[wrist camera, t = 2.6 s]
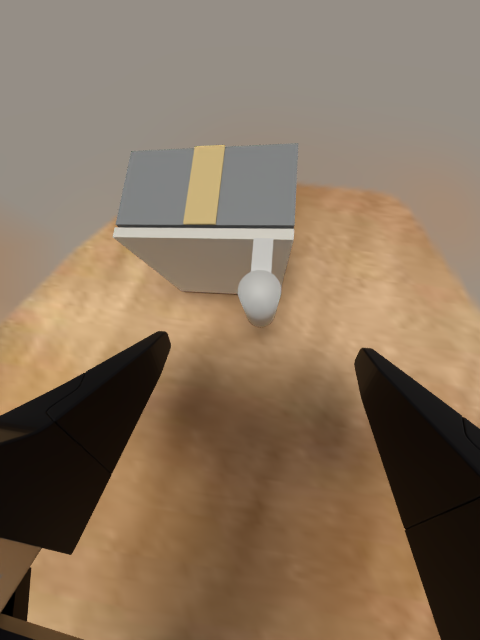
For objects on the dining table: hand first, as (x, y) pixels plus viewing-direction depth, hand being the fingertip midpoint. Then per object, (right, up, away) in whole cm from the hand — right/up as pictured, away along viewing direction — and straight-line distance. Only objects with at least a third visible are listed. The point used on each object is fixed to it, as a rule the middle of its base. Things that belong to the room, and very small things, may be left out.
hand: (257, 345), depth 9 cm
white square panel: (-2, +2, +10) cm, 11 cm away
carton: (-2, +7, +12) cm, 14 cm away
